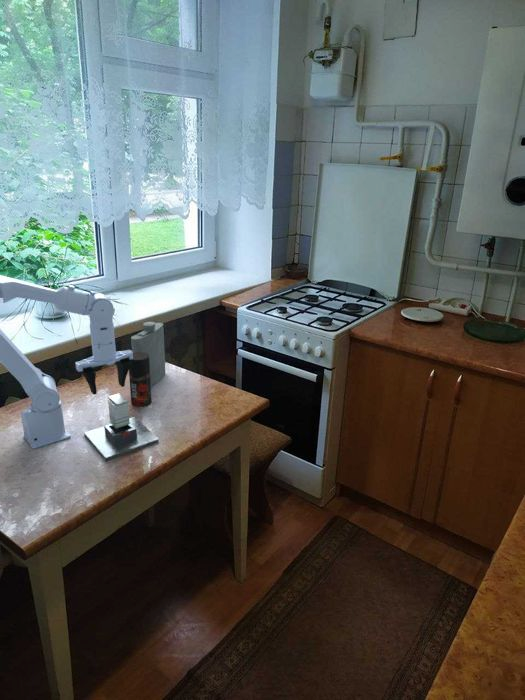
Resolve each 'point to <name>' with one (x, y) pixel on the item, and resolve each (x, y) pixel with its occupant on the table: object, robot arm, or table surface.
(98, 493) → the table surface
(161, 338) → the hip flask
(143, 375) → the deodorant
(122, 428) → the base plate with holder
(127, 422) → the column
